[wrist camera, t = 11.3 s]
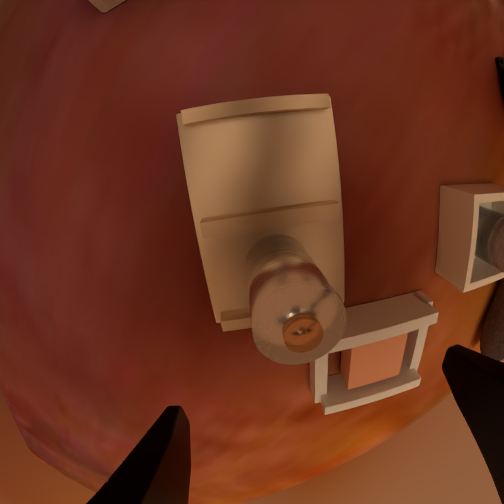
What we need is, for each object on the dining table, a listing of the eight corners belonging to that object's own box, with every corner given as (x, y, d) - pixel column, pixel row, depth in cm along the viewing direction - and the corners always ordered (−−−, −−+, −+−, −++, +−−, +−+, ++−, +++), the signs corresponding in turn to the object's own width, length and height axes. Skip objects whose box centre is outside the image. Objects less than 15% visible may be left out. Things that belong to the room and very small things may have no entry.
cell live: (306, 229, 17) (353, 284, 10) (310, 288, 19) (349, 362, 12) (240, 239, 17) (246, 302, 10) (250, 297, 19) (259, 380, 11)
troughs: (324, 99, 16) (336, 92, 14) (339, 295, 20) (350, 310, 18) (179, 116, 15) (171, 111, 13) (216, 315, 20) (215, 333, 18)
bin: (492, 182, 18) (523, 191, 14) (485, 257, 20) (513, 274, 17) (439, 185, 18) (474, 194, 14) (434, 271, 20) (463, 292, 16)
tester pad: (395, 316, 21) (408, 330, 19) (388, 359, 22) (398, 374, 20) (342, 329, 21) (351, 346, 19) (339, 372, 22) (347, 389, 20)
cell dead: (485, 202, 18) (550, 227, 11) (481, 246, 19) (540, 279, 12) (456, 205, 18) (527, 233, 11) (453, 252, 19) (516, 292, 12)
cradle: (420, 290, 21) (443, 310, 17) (407, 361, 23) (423, 383, 20) (307, 315, 21) (319, 343, 17) (310, 387, 23) (318, 416, 20)
